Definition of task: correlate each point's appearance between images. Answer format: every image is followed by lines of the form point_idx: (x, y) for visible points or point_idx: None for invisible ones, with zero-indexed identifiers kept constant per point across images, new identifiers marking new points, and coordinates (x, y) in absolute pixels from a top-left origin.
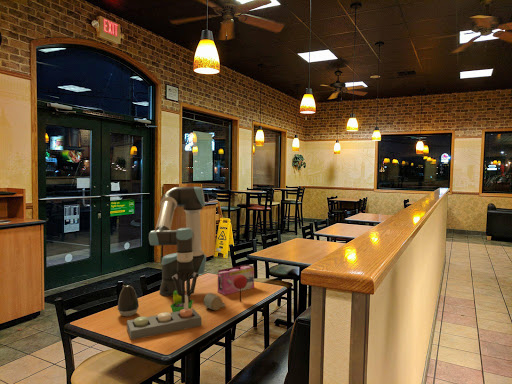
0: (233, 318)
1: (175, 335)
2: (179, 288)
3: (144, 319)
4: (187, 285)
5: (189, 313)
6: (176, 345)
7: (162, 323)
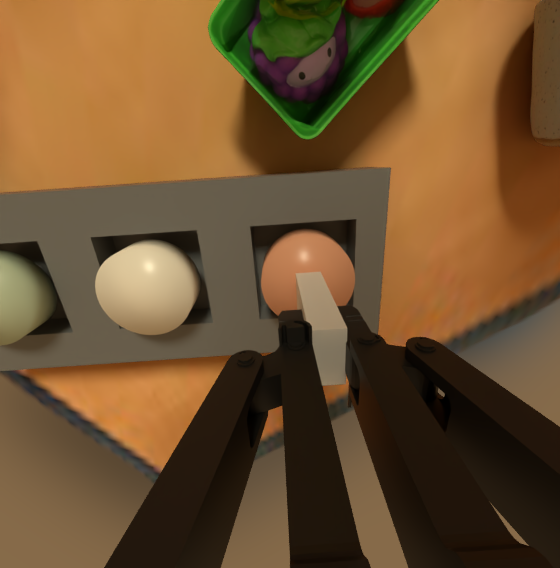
0: (547, 299)
1: (220, 370)
2: (237, 500)
3: (7, 322)
4: (392, 515)
5: None
6: None
7: (144, 342)
